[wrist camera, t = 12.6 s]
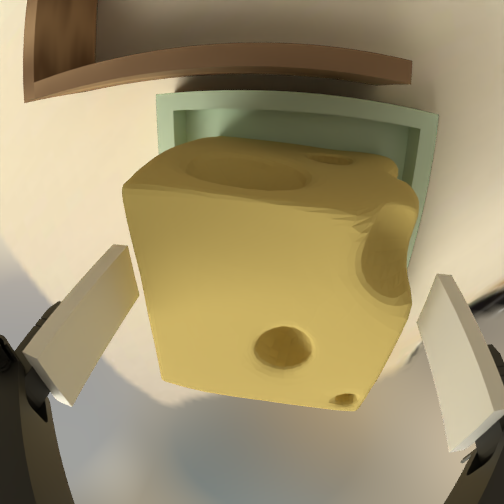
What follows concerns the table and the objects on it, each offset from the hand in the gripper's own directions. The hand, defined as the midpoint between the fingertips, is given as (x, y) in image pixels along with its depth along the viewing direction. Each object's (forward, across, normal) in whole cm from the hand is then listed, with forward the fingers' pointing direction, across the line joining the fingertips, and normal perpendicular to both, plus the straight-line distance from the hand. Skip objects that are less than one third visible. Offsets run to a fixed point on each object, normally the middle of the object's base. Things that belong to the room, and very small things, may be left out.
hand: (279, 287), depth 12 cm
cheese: (+8, 0, -1) cm, 8 cm away
